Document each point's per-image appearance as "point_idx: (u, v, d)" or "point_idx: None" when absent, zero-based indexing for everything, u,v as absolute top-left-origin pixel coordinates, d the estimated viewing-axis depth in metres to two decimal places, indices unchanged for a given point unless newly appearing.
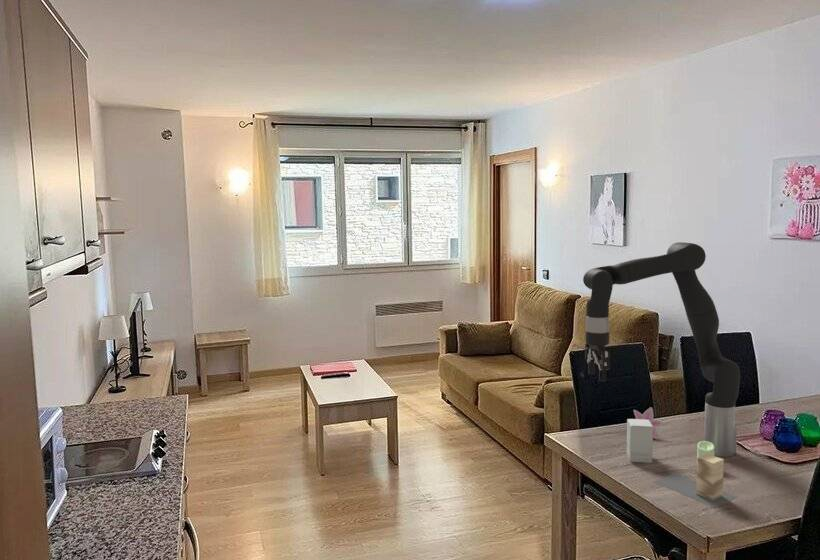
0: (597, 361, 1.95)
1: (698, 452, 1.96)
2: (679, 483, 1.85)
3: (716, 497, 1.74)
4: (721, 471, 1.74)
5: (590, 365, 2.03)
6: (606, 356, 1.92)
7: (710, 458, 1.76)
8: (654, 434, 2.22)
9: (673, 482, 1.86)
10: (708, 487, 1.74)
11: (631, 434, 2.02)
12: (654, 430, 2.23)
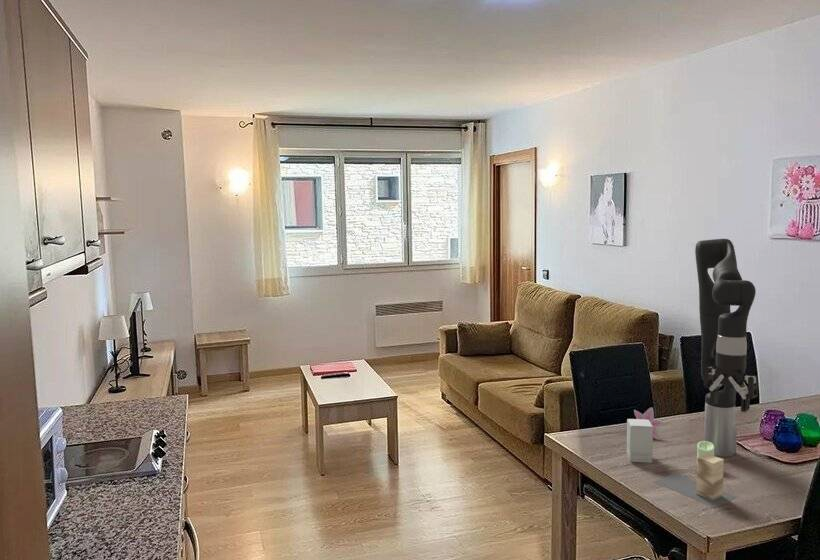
0: (740, 389, 1.65)
1: (698, 452, 1.96)
2: (679, 483, 1.85)
3: (716, 497, 1.74)
4: (721, 471, 1.74)
5: (715, 393, 1.73)
6: (754, 382, 1.63)
7: (710, 458, 1.76)
8: (654, 434, 2.22)
9: (673, 482, 1.86)
10: (708, 487, 1.74)
11: (631, 434, 2.02)
12: (654, 430, 2.23)
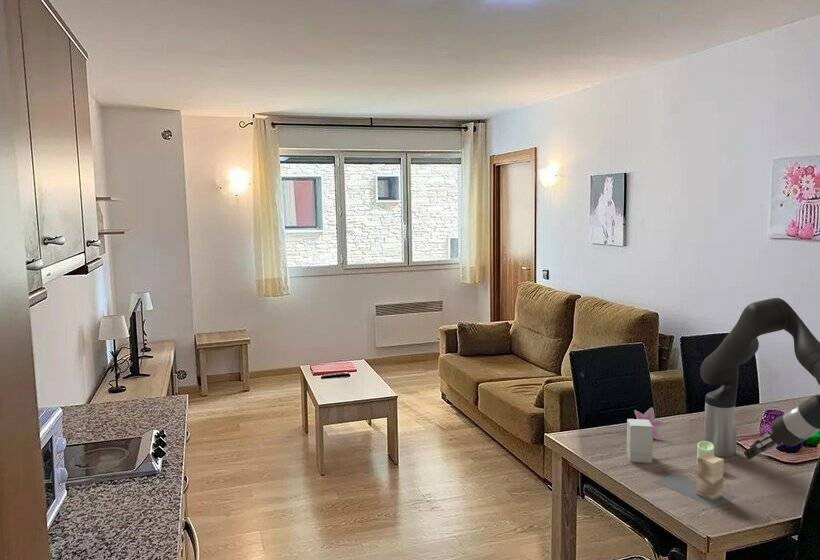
0: (772, 448, 1.61)
1: (698, 452, 1.96)
2: (679, 483, 1.85)
3: (716, 497, 1.74)
4: (721, 471, 1.74)
5: None
6: None
7: (710, 458, 1.76)
8: (655, 434, 2.22)
9: (673, 482, 1.86)
10: (708, 487, 1.74)
11: (631, 434, 2.02)
12: (655, 430, 2.23)
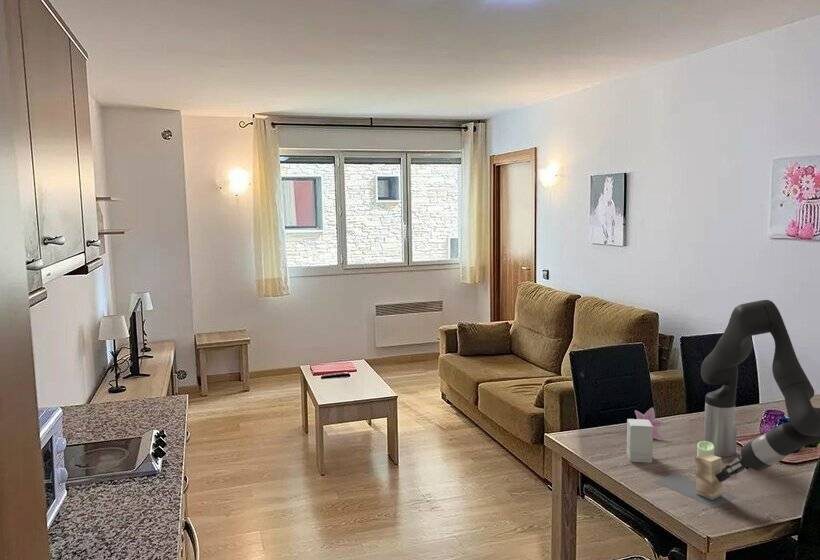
0: None
1: (698, 452, 1.96)
2: (679, 483, 1.85)
3: (716, 496, 1.74)
4: (719, 469, 1.75)
5: None
6: None
7: (707, 456, 1.76)
8: (656, 434, 2.22)
9: (673, 482, 1.86)
10: (708, 486, 1.74)
11: (631, 434, 2.02)
12: (656, 430, 2.23)
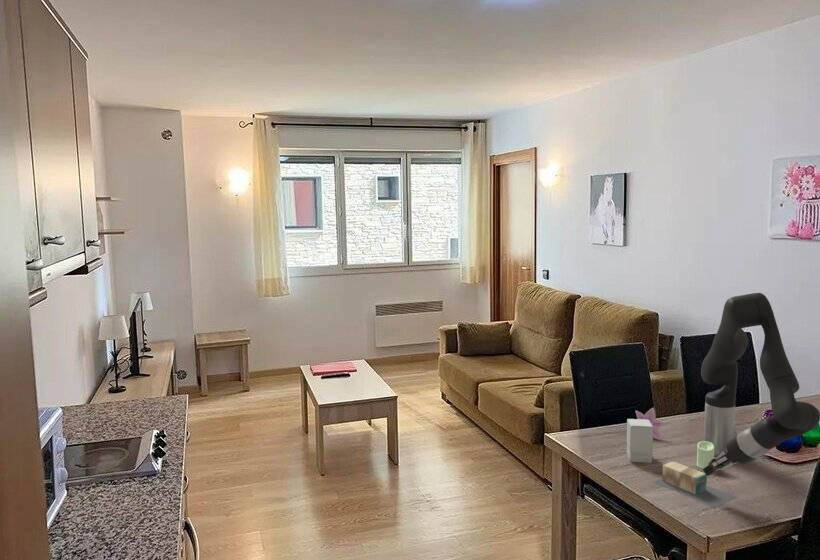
0: None
1: (698, 452, 1.96)
2: None
3: (698, 475, 1.78)
4: (680, 465, 1.86)
5: None
6: None
7: None
8: (656, 435, 2.22)
9: None
10: (685, 477, 1.80)
11: (631, 434, 2.02)
12: (656, 431, 2.23)
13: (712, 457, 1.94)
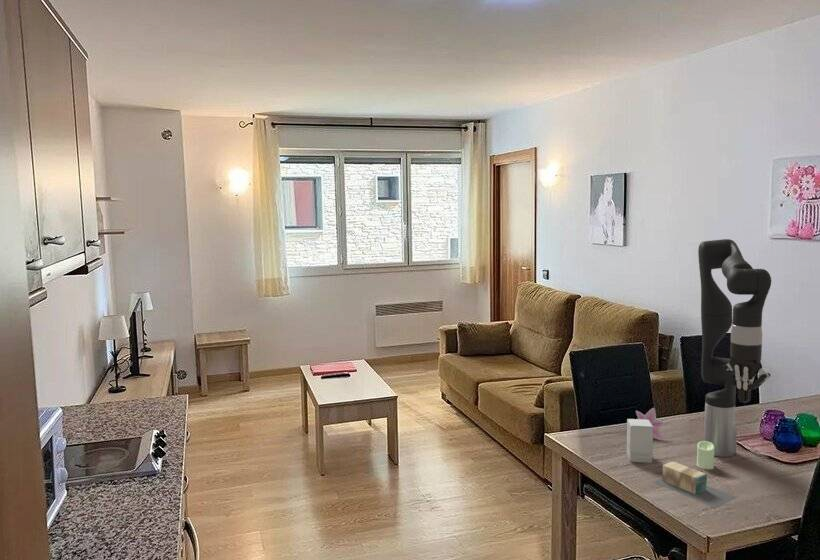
0: (747, 381, 1.65)
1: (698, 452, 1.96)
2: None
3: (698, 475, 1.78)
4: (680, 465, 1.86)
5: None
6: (765, 379, 1.62)
7: None
8: (657, 435, 2.22)
9: None
10: (685, 477, 1.80)
11: (631, 434, 2.02)
12: (657, 431, 2.22)
13: (712, 457, 1.94)
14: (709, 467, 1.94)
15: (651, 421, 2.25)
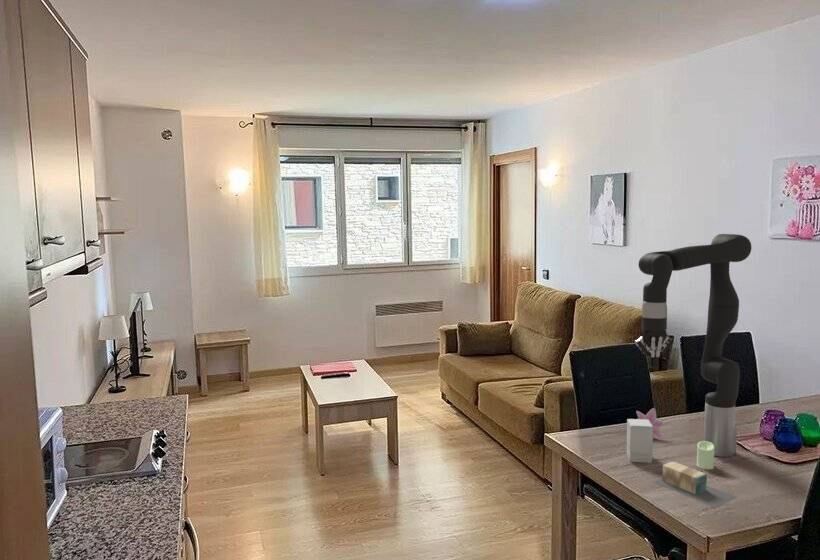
0: (661, 348, 1.94)
1: (698, 452, 1.96)
2: None
3: (698, 475, 1.78)
4: (680, 465, 1.86)
5: None
6: None
7: None
8: (657, 435, 2.22)
9: None
10: (685, 477, 1.80)
11: (631, 434, 2.02)
12: (657, 431, 2.22)
13: (712, 457, 1.94)
14: (709, 467, 1.94)
15: (651, 421, 2.25)
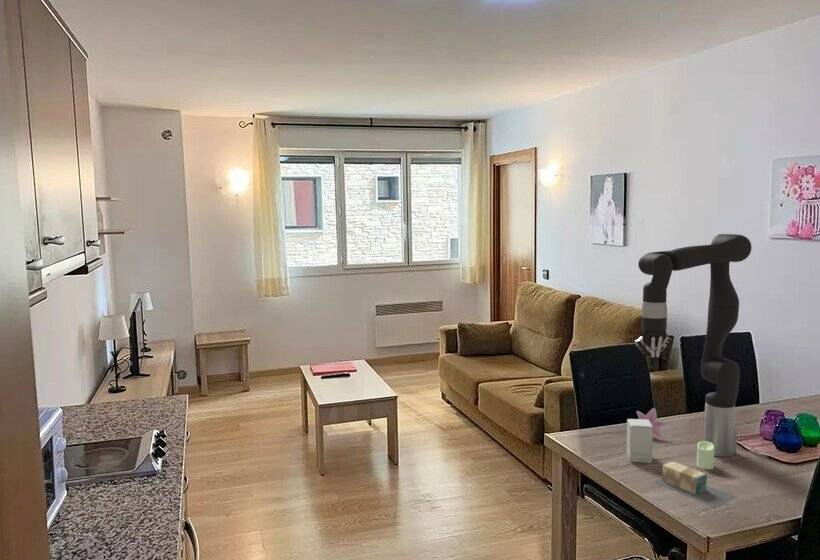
0: (660, 348, 1.94)
1: (698, 452, 1.96)
2: None
3: (698, 475, 1.78)
4: (680, 465, 1.86)
5: None
6: None
7: None
8: (658, 435, 2.21)
9: None
10: (685, 477, 1.80)
11: (631, 434, 2.02)
12: (658, 431, 2.22)
13: (712, 457, 1.94)
14: (709, 467, 1.94)
15: (652, 421, 2.25)
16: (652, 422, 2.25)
